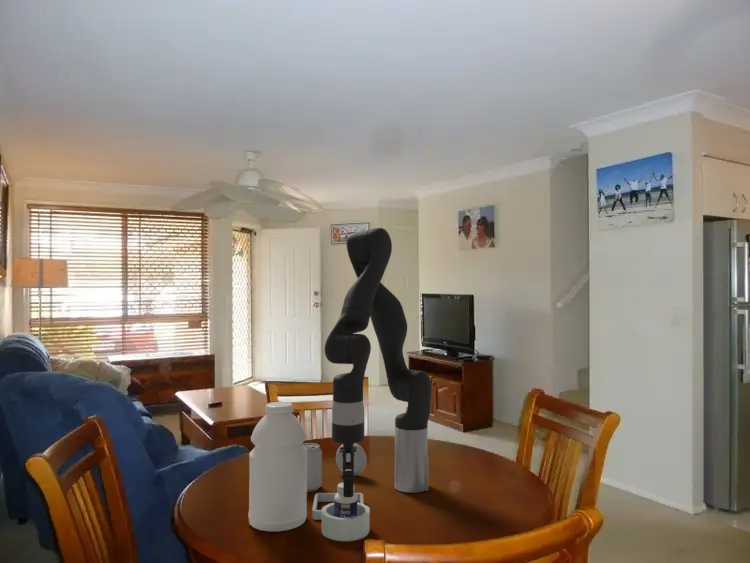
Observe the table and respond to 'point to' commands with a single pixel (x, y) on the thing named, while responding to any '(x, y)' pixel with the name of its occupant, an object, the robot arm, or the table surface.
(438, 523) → the table surface
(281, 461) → the bottle
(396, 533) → the table surface
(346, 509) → the pill bottle
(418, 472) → the robot arm
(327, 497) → the tray
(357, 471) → the donut
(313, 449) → the can
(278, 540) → the table surface
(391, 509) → the table surface
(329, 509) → the bowl
